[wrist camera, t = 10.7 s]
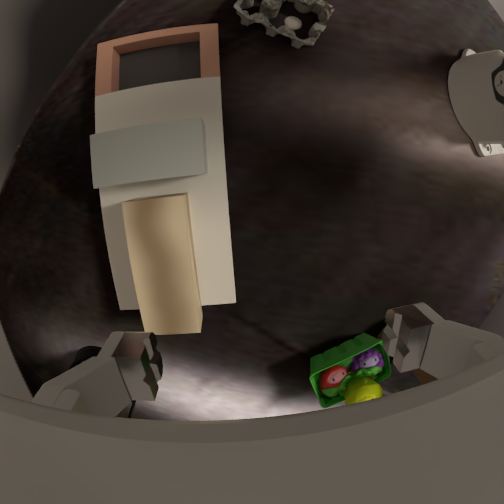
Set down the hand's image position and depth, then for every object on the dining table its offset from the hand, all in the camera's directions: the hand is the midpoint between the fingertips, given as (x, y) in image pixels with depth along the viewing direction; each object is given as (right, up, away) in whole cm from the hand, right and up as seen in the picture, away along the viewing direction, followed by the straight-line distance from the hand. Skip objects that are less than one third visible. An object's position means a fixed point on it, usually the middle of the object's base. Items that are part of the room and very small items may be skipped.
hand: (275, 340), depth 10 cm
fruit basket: (+13, -13, +32) cm, 37 cm away
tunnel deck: (-11, +13, +22) cm, 28 cm away
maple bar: (-10, +2, +22) cm, 24 cm away
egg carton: (+3, +32, +19) cm, 37 cm away
